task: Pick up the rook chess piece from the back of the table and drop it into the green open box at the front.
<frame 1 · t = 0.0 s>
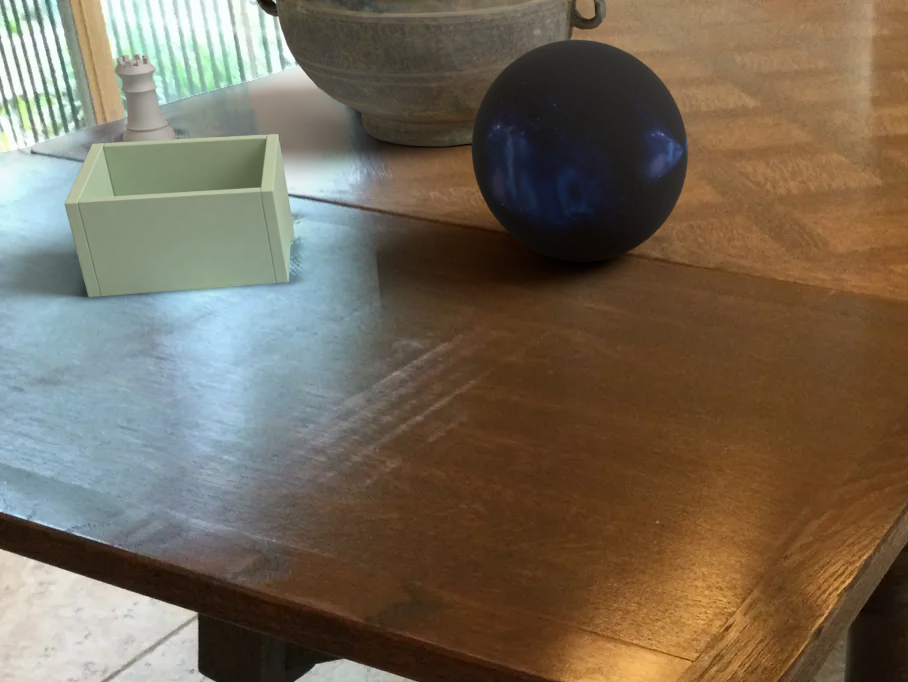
bowl: (441, 126, 126), on the table
rook chess piece: (153, 154, 117), on the table
green open box: (200, 272, 95), on the table
decorative sphere: (584, 257, 99), on the table
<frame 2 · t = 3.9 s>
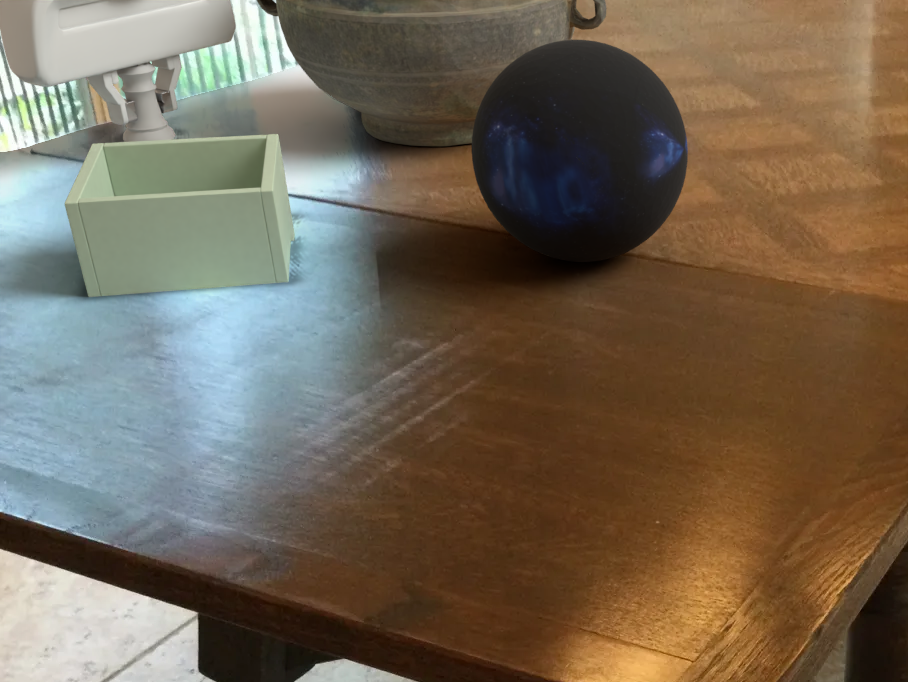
hand: (144, 116, 115), 3 cm above the table, tool pointing down, fingers closed on rook chess piece, 3 cm apart
rook chess piece: (153, 154, 117), on the table, touching gripper
everything else where it was.
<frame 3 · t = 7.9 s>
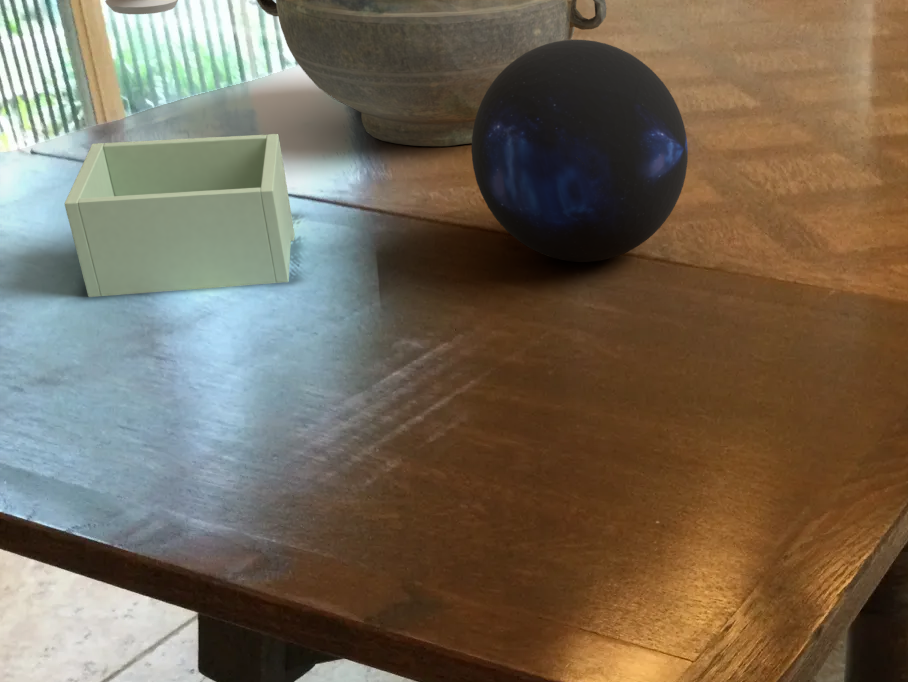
rook chess piece: (144, 11, 87), point 17 cm above the table, touching gripper
everything else where it was.
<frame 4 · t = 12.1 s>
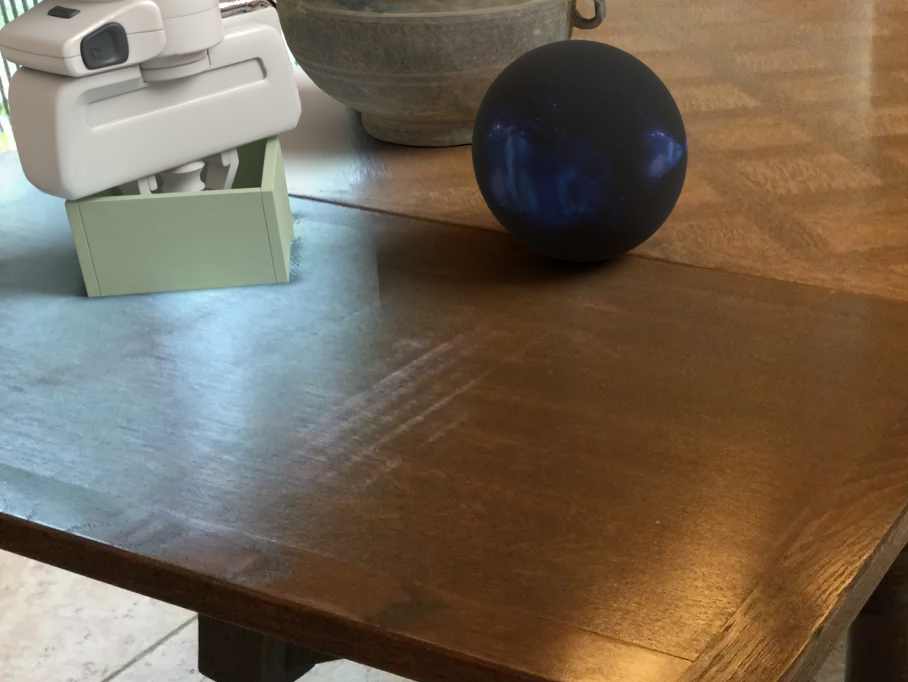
hand: (191, 225, 93), 3 cm above the table, tool pointing down, fingers closed on rook chess piece, 3 cm apart
rook chess piece: (199, 267, 95), resting on green open box, touching gripper
everything else where it was.
when the fingers open (3 cm above the table, at t = 12.1 s): rook chess piece stays where it is, resting on green open box.
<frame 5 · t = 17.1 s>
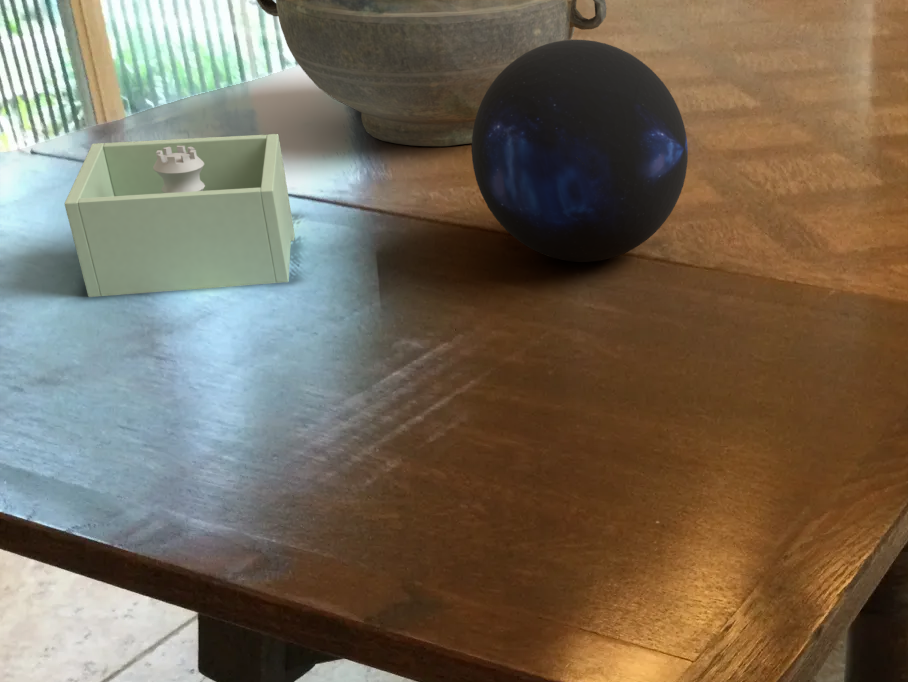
rook chess piece: (199, 267, 95), resting on green open box
everything else where it was.
at the end: rook chess piece inside the target area in the green open box (0.1 cm from its centre), point 0.4 cm above the green open box's base; the gripper is holding nothing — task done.
